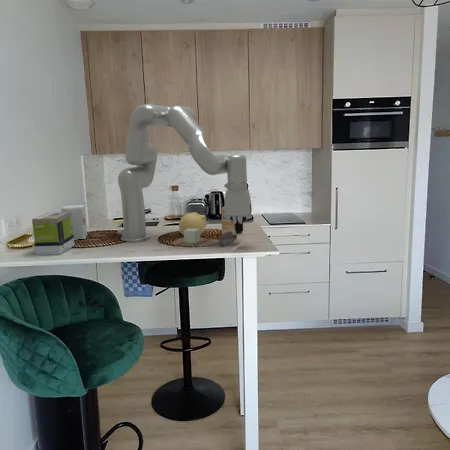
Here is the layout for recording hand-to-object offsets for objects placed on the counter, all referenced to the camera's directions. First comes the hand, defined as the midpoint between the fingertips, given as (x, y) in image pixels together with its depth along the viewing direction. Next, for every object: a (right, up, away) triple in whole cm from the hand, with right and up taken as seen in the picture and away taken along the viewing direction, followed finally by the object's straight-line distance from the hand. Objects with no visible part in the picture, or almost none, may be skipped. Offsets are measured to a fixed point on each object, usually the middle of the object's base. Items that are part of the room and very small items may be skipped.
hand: (239, 233), depth 169 cm
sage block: (-19, -4, +8) cm, 21 cm away
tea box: (-74, -7, +3) cm, 74 cm away
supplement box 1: (-73, -3, +25) cm, 78 cm away
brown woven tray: (-15, -5, +7) cm, 17 cm away
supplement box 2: (-2, -2, +22) cm, 22 cm away
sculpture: (-20, -2, +25) cm, 32 cm away
